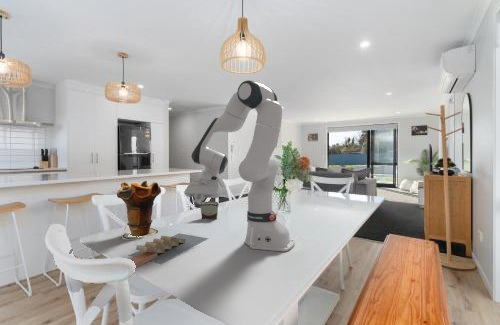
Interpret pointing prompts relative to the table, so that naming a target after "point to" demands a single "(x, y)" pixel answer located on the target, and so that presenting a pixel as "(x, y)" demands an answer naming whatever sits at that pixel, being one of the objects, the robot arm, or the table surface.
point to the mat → (175, 248)
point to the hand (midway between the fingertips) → (196, 203)
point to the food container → (209, 210)
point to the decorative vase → (139, 208)
